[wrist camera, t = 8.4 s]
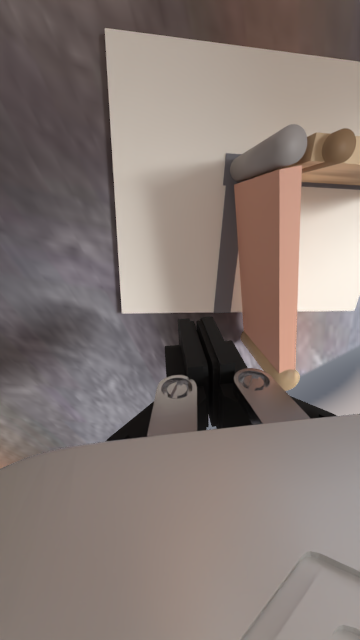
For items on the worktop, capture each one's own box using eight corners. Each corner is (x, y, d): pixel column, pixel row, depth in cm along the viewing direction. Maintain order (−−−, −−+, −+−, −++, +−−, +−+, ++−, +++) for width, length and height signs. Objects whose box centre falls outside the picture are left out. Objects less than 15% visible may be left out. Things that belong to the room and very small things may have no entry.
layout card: (428, 74, 16) (436, 70, 15) (350, 309, 22) (355, 311, 22) (105, 33, 13) (104, 26, 13) (122, 311, 19) (121, 313, 19)
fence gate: (227, 158, 15) (272, 127, 10) (252, 154, 15) (310, 121, 10) (241, 346, 21) (274, 393, 15) (259, 342, 21) (299, 387, 16)
